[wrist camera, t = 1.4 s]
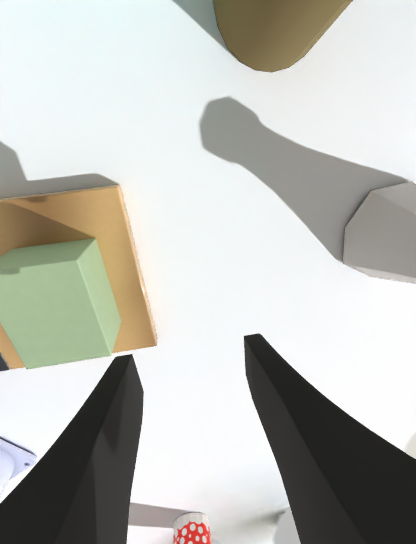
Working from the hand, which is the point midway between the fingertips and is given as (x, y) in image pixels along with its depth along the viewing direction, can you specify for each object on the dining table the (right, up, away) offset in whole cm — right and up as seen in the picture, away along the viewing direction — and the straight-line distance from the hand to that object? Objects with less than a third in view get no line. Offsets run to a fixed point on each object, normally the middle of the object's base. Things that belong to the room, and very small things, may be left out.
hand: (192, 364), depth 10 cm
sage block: (-8, +3, +7) cm, 11 cm away
